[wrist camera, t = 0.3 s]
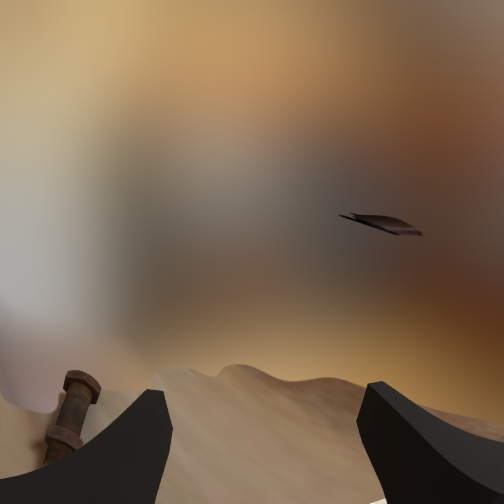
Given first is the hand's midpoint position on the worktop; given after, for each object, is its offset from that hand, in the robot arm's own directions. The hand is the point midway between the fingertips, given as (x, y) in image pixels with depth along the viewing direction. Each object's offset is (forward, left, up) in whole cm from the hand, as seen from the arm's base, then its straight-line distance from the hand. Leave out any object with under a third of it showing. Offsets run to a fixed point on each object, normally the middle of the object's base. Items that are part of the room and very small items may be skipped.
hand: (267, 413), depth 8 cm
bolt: (+10, +21, -21) cm, 31 cm away
